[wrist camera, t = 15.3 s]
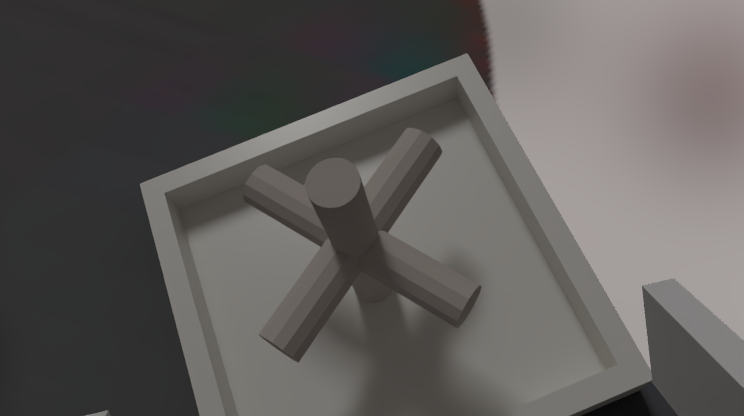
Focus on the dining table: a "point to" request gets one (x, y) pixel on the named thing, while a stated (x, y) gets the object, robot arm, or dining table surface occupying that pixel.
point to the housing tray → (394, 313)
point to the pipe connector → (356, 241)
